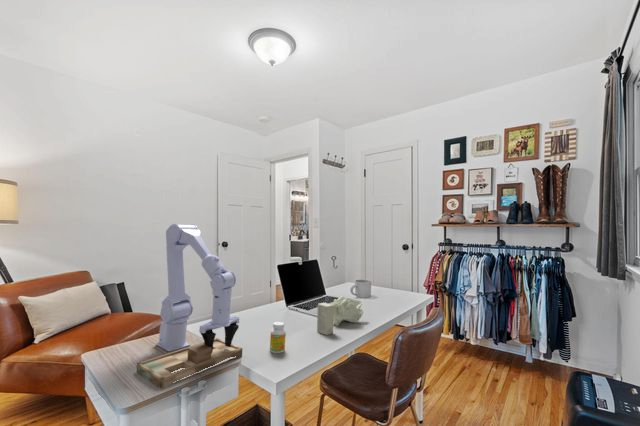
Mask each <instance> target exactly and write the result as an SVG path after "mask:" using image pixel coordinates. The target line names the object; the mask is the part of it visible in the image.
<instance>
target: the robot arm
mask: <svg viewBox="0 0 640 426" xmlns="http://www.w3.org/2000/svg"><path fill="white" fill-rule="evenodd" d="M165 239H166V242H165V243H166V247H165V248H166V264H167V265H166V266H167V269H166V271H167V287H168V295H167V296H166V297H165V298H164V299H163V300H162V301H161V309H160V312H159V313H160V314H159V315H160V318H161V320H162V322H161V324H160V325H159V337H158V342H156V344H155V345H156V346H158V347H160V348H162V349H164V350H166V352H167V351H168V352H174V351H177V350H181V349H184V348H187V347H190V346H191V343H190V342H188V341H187V326H188V320H190V319H189V318H190V317H191V316H192V314H193V312H194V307H193V304H192V300H191V296H190V295H189V294H187V293H186V289H185V288H186V287H185V268H184V252H183V251H184V249H186V247H188V246H190V247H191V248H192V249H193V250H194V252H195V253H196V254H197V255H198V256H199V258H200V259H201V260H202V261H201V267H202V268H203V269H204V271H205V272H206V273H207V276H208V277H209V279H210V282H209V283H210V287H211V289H212V296H213V299H212V311H211V312H212V313H211V321H209V322H206V323H205V324H201V325H199V334H200V335H201V338H202V339H203V342H205V345H207V346H209V347H211V348H212V351H213V343H214V339H216V336H217V333H216V332H214V330H217V329H221V328H224V341H225V346H227V347H230V346H231V344H233V343H232V342H233V339H234V336H235V335H236V333H237V331H238V329H239V324H240V317H238V316H232V317H231V303H232V289H233V287H235V285H236V284H237V283H236V280H237V279H236V278H237V277H236V276H235V273H234V272H233V271H231V270H229V269H227V267H225V266H224V265H223V263H222V262H221V259H220V257H219V256H218V255H215V254H211V251H210V250H209V249H208V247H207V245H206V243H205V241H204V240H203V238H202V232H201V230H200V229H199V227H198V226H197V225H196V224H179V223H178V224H177V223H172V224H171V225H169V227H168V228H167V229H166V230H165ZM212 351H211V353H212Z"/></svg>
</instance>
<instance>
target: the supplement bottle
mask: <svg viewBox="0 0 640 426" xmlns="http://www.w3.org/2000/svg"><path fill="white" fill-rule="evenodd" d="M272 327H273V328H271V330H270V340H269V341H270V342H269V351H270V352H271V353H273V354H280V353H281V354H282V353H284V352H285V349H286V348H285V347H286V333H287V331H286V329H285V323H284V322H283V321H275V322H273V323H272Z"/></svg>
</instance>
